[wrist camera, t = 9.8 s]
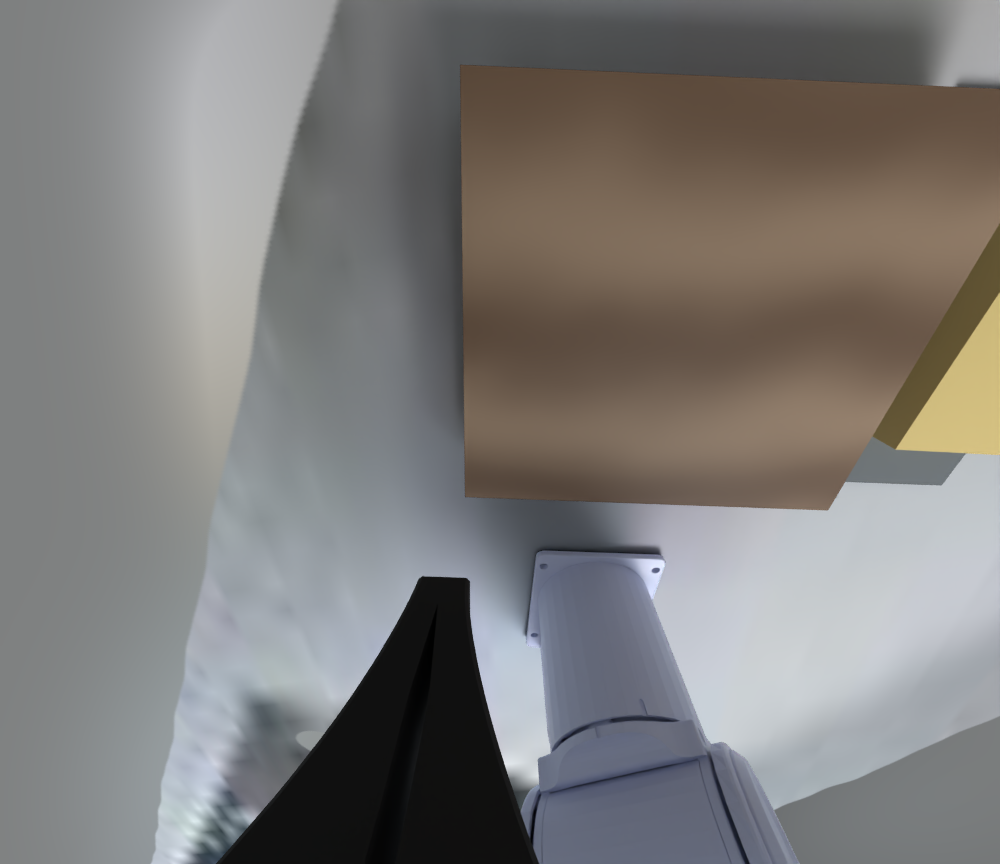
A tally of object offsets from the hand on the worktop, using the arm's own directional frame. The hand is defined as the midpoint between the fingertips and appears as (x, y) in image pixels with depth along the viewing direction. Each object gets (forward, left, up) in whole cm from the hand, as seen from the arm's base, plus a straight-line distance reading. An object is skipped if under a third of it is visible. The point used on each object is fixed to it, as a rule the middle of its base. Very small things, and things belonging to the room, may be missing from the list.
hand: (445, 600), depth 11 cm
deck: (+6, -8, -10) cm, 14 cm away
